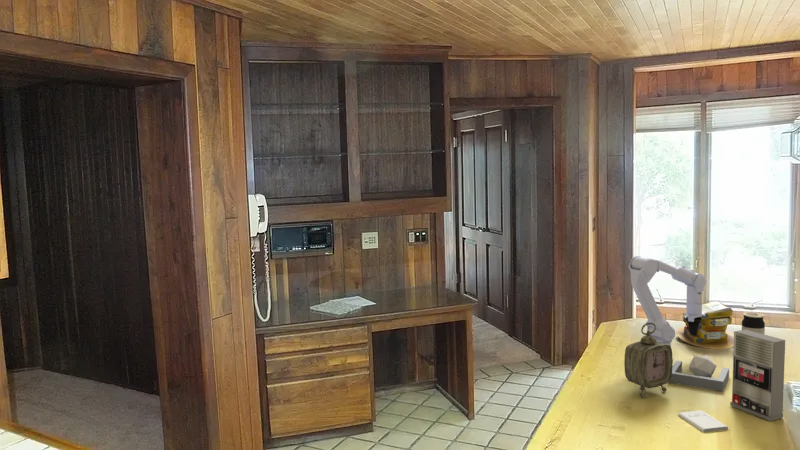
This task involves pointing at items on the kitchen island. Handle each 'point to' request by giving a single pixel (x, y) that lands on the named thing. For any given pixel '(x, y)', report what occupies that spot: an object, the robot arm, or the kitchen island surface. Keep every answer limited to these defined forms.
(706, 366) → the die
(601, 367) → the kitchen island surface
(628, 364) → the tabletop clock
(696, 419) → the external hard drive
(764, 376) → the cassette tape recorder
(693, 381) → the grey bracket
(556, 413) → the kitchen island surface
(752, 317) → the travel mug
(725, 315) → the stack of yellow books
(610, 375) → the kitchen island surface
